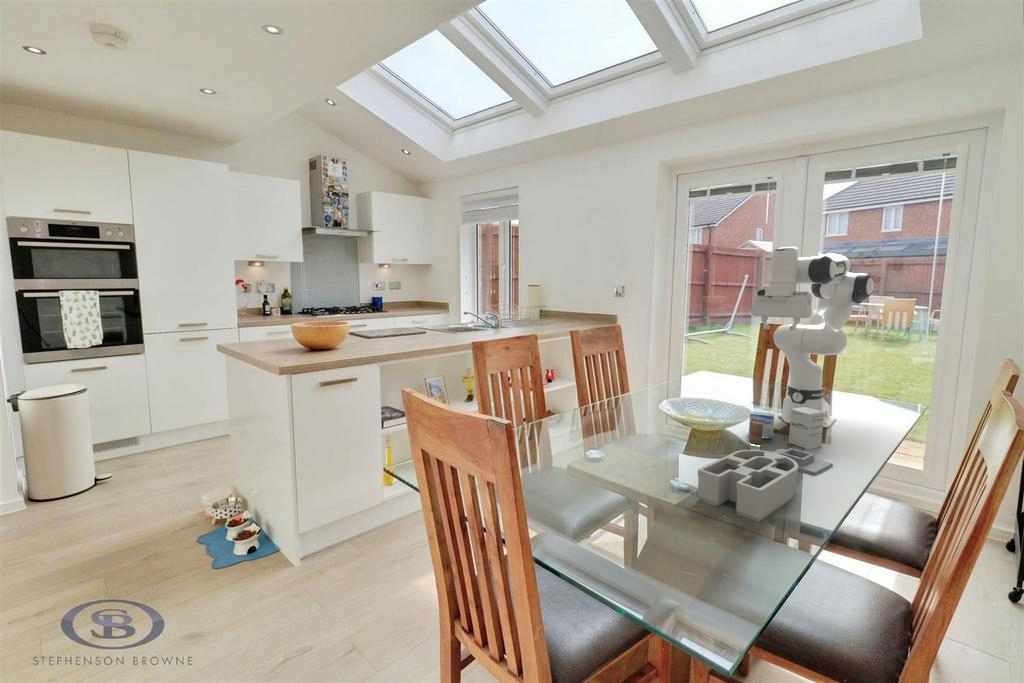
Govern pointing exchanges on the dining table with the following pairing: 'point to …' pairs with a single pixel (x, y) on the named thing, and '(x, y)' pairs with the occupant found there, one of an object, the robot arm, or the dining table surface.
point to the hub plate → (805, 461)
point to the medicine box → (765, 419)
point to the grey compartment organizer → (749, 482)
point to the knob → (756, 433)
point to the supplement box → (806, 427)
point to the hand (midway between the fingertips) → (779, 330)
